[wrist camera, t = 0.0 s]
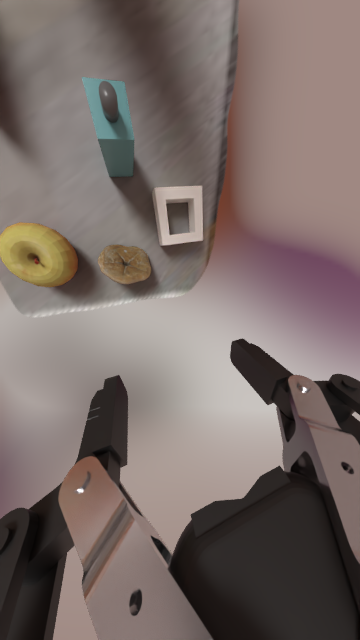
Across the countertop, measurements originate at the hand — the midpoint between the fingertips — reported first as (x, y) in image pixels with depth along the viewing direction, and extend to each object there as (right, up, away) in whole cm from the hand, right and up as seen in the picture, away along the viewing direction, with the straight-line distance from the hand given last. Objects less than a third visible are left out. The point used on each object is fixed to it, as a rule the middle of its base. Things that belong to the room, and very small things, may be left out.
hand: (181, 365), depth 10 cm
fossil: (-12, +16, +22) cm, 30 cm away
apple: (-25, +16, +18) cm, 34 cm away
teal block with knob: (-11, +31, +15) cm, 35 cm away
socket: (-1, +25, +21) cm, 33 cm away
